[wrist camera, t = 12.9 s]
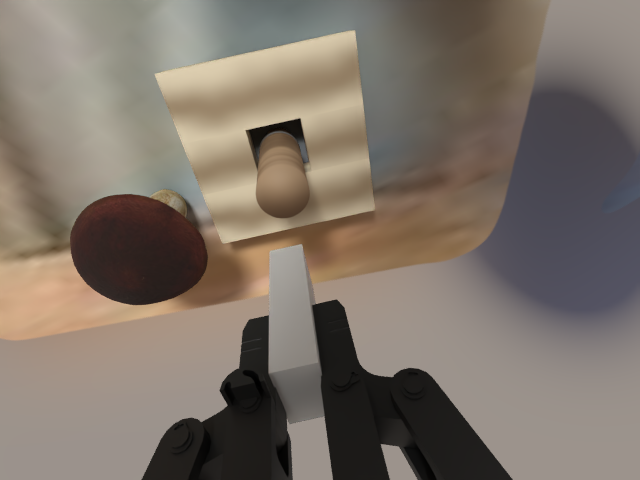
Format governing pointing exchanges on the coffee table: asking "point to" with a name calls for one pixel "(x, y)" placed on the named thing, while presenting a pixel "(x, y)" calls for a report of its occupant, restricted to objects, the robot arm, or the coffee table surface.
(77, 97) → the coffee table surface
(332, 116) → the board
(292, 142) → the peg
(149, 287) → the decorative mushroom
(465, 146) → the coffee table surface
